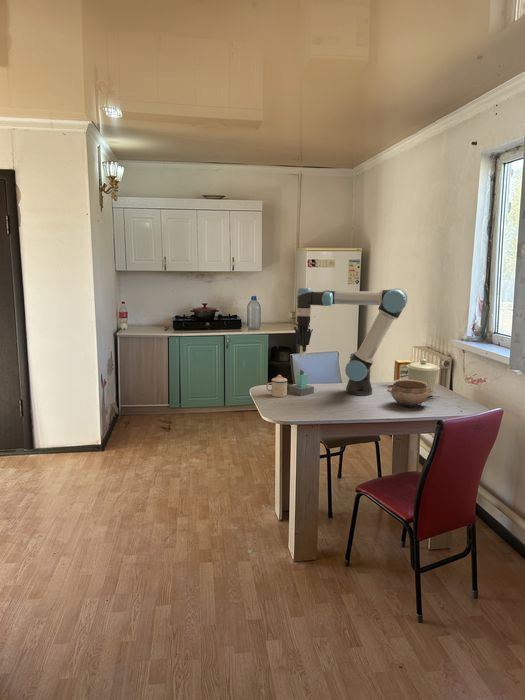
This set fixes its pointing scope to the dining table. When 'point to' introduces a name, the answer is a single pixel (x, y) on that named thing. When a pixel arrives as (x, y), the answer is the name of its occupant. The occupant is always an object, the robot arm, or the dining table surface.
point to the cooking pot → (409, 392)
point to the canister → (424, 373)
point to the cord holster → (288, 386)
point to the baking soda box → (401, 369)
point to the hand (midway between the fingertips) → (302, 357)
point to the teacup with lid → (278, 386)
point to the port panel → (301, 390)
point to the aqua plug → (301, 379)
